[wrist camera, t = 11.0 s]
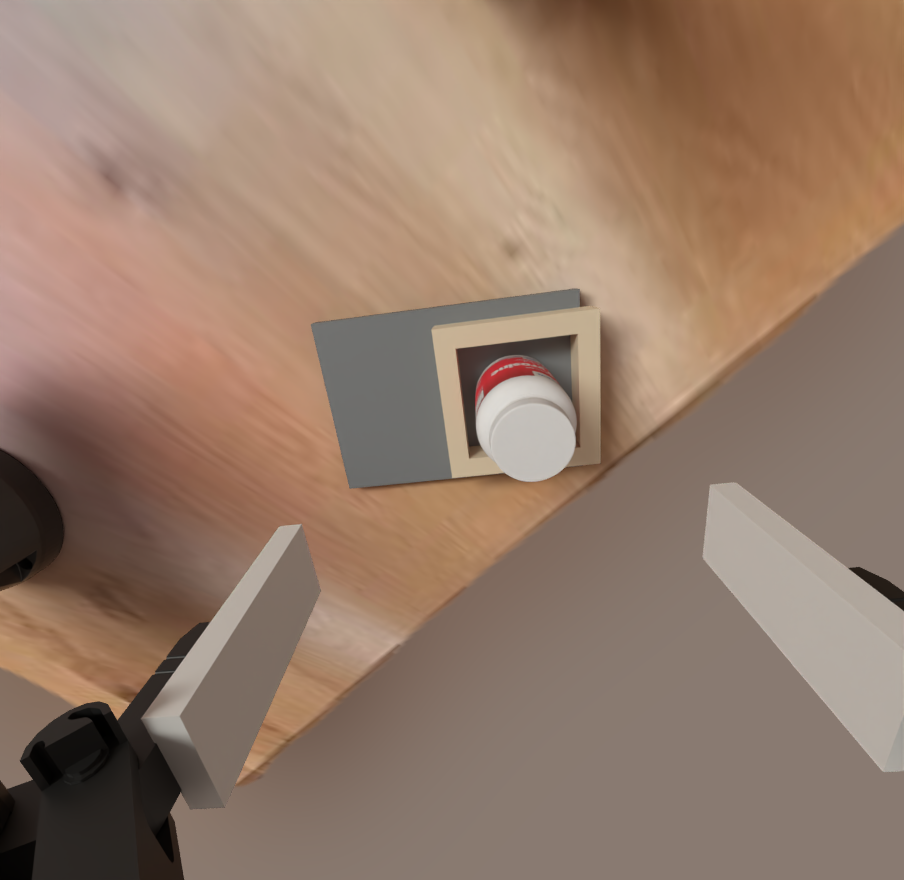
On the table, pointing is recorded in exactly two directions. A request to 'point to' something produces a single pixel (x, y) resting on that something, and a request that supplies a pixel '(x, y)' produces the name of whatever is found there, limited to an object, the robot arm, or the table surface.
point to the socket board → (449, 381)
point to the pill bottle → (524, 419)
